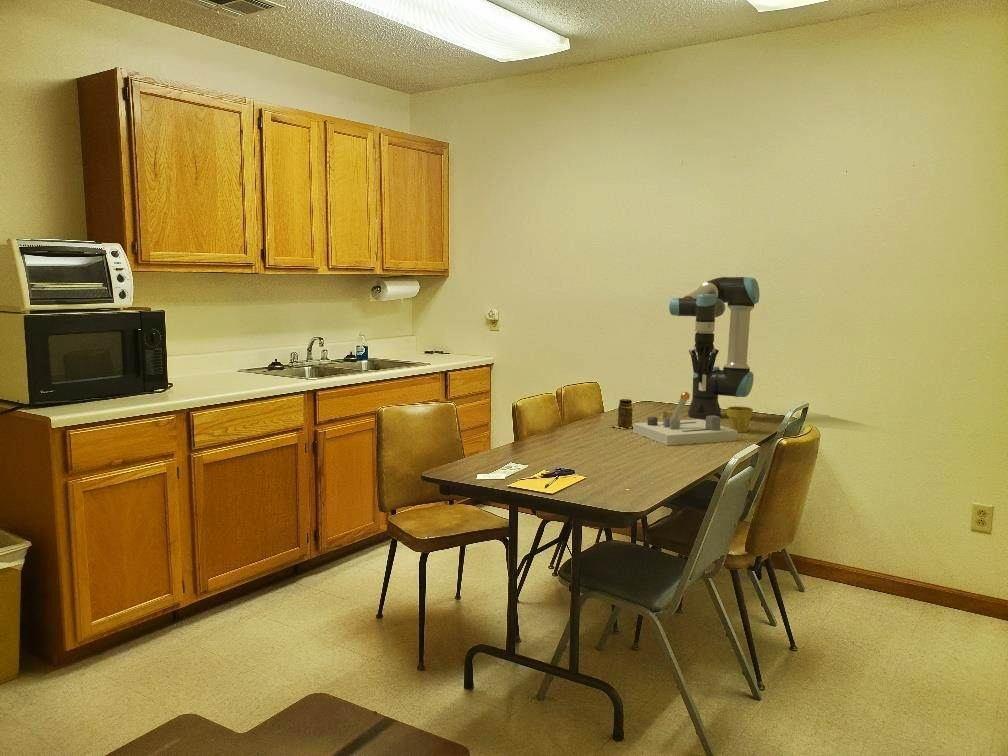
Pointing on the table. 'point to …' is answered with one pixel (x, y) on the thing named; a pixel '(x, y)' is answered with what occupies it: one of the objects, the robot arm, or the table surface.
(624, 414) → the condiment
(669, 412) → the brass slider
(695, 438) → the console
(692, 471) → the table surface
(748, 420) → the plant pot
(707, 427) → the grey slider
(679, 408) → the toggle lever
